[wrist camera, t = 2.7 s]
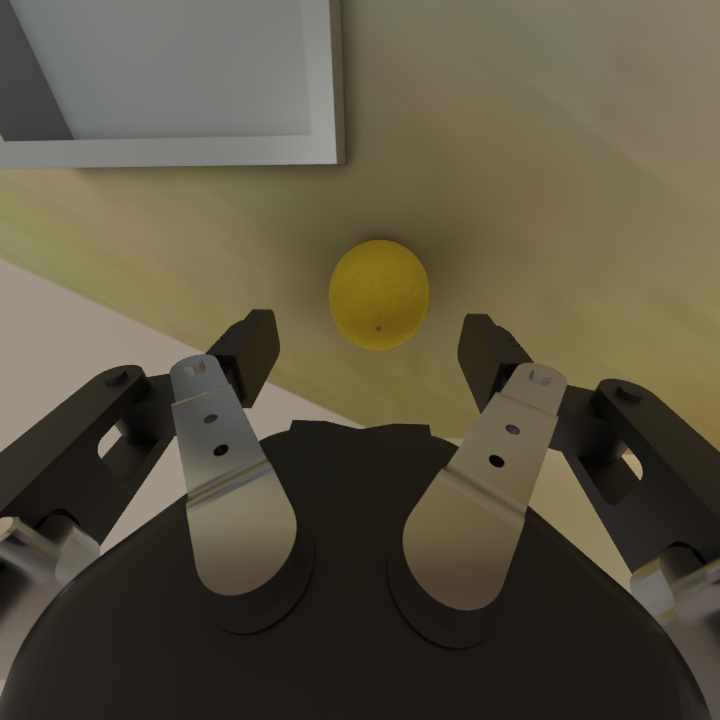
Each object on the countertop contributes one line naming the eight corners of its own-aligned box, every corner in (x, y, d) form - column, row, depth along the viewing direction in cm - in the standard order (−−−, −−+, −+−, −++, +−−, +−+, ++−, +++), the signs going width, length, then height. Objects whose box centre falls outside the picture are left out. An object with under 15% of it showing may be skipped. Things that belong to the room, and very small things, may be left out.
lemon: (376, 323, 21) (374, 394, 15) (321, 269, 19) (290, 325, 13) (437, 273, 19) (468, 332, 12) (382, 206, 17) (383, 233, 10)
